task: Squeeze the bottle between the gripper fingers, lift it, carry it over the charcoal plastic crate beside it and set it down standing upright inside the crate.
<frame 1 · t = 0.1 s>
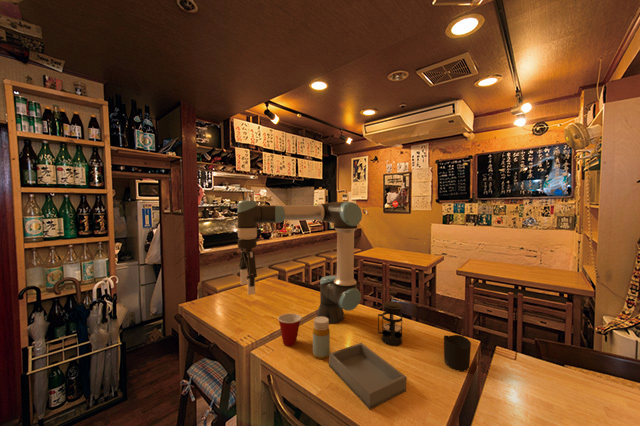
hand: (247, 289, 104), 28 cm above the table, tool pointing down, fingers open, 13 cm apart
plastic cup: (289, 343, 115), on the table
crate: (364, 377, 92), on the table
pen holder: (456, 365, 100), on the table
bottle: (321, 355, 106), on the table
french press: (390, 340, 117), on the table
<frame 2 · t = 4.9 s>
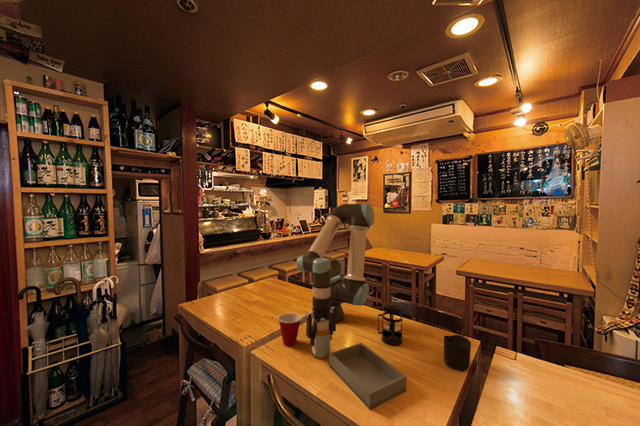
hand: (321, 350, 106), 2 cm above the table, tool pointing down, fingers closed on bottle, 6 cm apart
bottle: (321, 355, 106), on the table, touching gripper
everything else where it was.
when the fingers open (4 cm above the table, at t = 12.0 s): bottle drops 1 cm, resting on crate.
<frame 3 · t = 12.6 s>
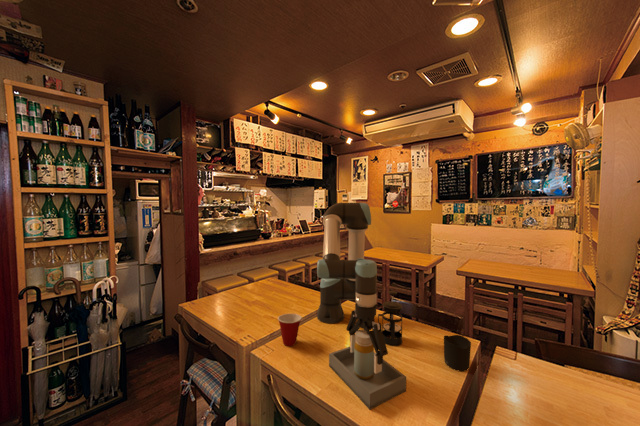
hand: (365, 361, 91), 6 cm above the table, tool pointing down, fingers open, 13 cm apart
bottle: (363, 374, 92), point 1 cm above the table, touching crate
everything else where it was.
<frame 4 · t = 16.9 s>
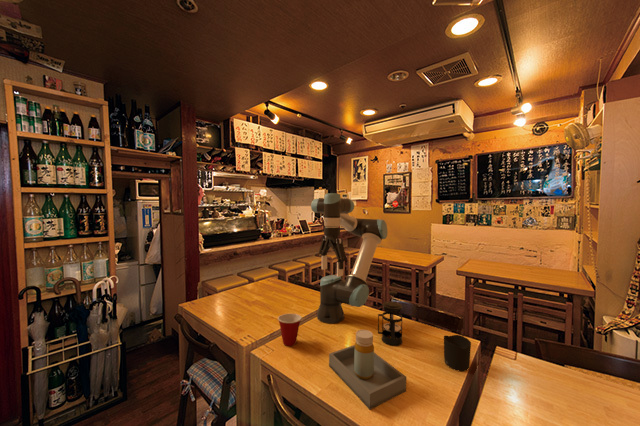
hand: (331, 272, 117), 32 cm above the table, tool pointing down, fingers open, 13 cm apart
nothing on the table moved.
at the end: bottle inside the target area on the crate (0.7 cm from its centre), point 0.8 cm above the crate's base; bottle tilted 0°; the gripper is holding nothing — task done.
